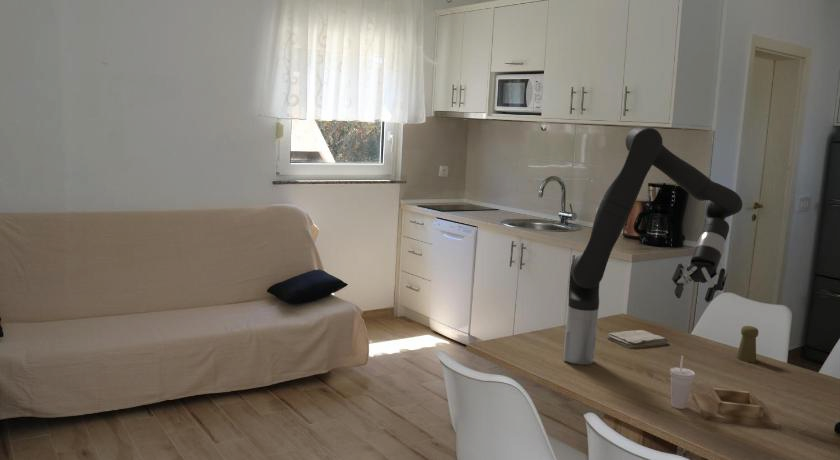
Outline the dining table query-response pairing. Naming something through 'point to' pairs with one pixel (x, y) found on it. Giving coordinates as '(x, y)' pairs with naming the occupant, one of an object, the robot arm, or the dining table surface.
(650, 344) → the washcloth
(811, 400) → the dining table surface
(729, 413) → the open wooden box
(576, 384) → the dining table surface
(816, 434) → the dining table surface
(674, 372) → the smoothie
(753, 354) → the cork
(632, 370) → the dining table surface
